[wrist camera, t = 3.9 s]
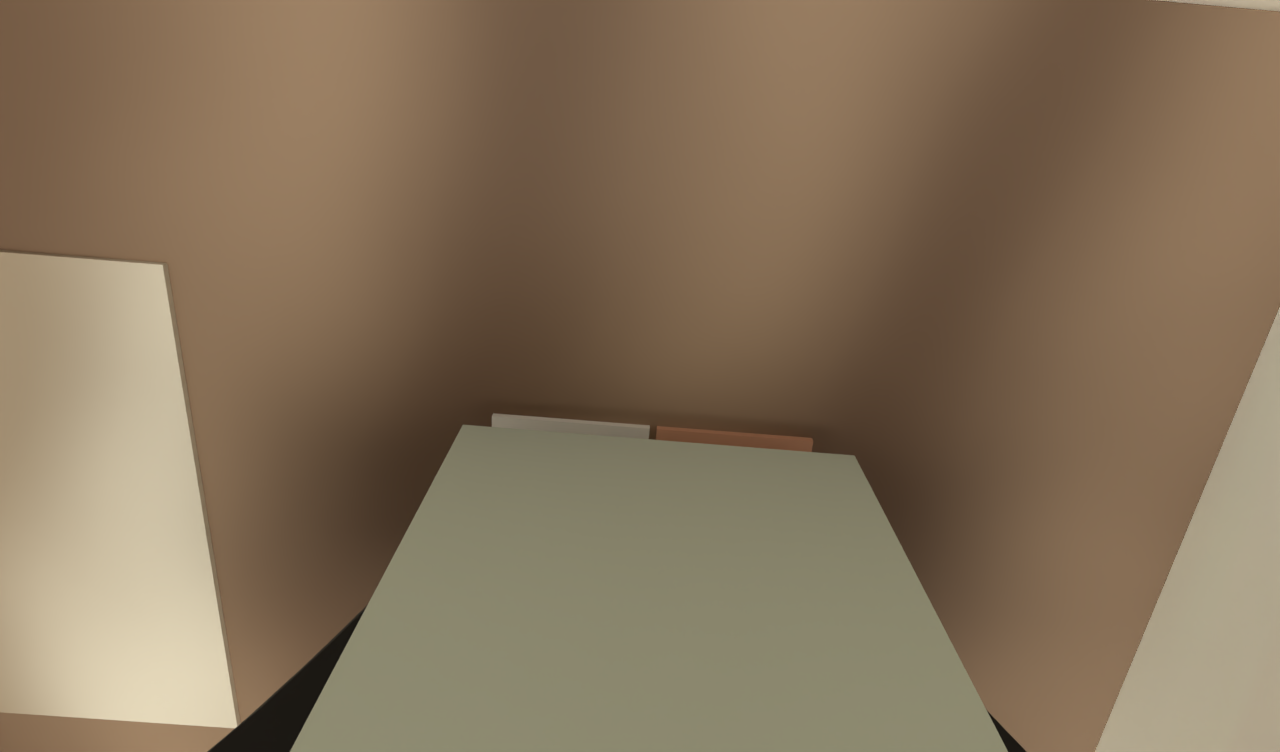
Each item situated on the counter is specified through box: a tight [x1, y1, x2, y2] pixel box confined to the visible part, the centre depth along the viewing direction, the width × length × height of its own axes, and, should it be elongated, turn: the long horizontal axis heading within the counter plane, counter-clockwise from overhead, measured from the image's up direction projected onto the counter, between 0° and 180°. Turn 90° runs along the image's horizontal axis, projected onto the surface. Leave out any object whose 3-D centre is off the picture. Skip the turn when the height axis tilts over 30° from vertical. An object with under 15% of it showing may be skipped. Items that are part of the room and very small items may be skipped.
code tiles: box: [492, 413, 813, 452], centre depth 11 cm, size 4×4×1 cm
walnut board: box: [0, 0, 1280, 752], centre depth 12 cm, size 22×16×1 cm
